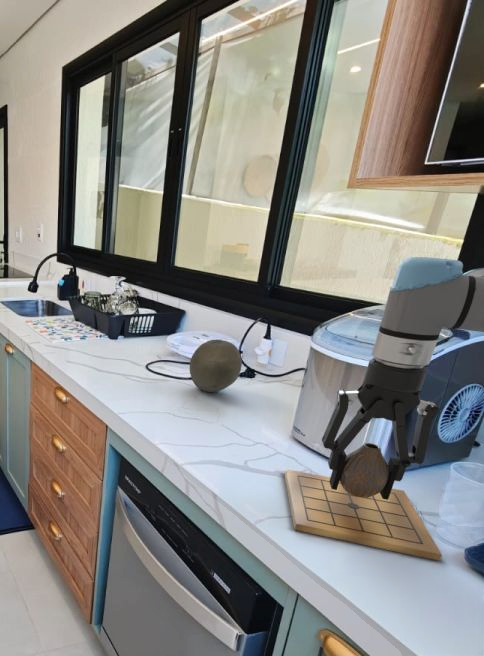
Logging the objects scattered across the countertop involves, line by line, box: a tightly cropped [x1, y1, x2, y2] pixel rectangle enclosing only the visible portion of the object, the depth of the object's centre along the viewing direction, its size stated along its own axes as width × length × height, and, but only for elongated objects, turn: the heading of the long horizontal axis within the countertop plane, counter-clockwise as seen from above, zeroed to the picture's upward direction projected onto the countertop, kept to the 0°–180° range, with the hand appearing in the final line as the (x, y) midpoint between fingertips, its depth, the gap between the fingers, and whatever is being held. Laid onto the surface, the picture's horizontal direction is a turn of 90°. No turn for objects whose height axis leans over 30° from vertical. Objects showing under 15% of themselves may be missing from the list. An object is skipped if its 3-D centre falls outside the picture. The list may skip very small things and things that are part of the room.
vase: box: [340, 442, 389, 498], centre depth 85 cm, size 7×7×9 cm
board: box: [284, 469, 443, 562], centre depth 88 cm, size 20×20×1 cm
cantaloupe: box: [189, 339, 243, 393], centre depth 141 cm, size 14×14×15 cm
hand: (357, 490), depth 86 cm, fingers closed on vase, 7 cm apart
